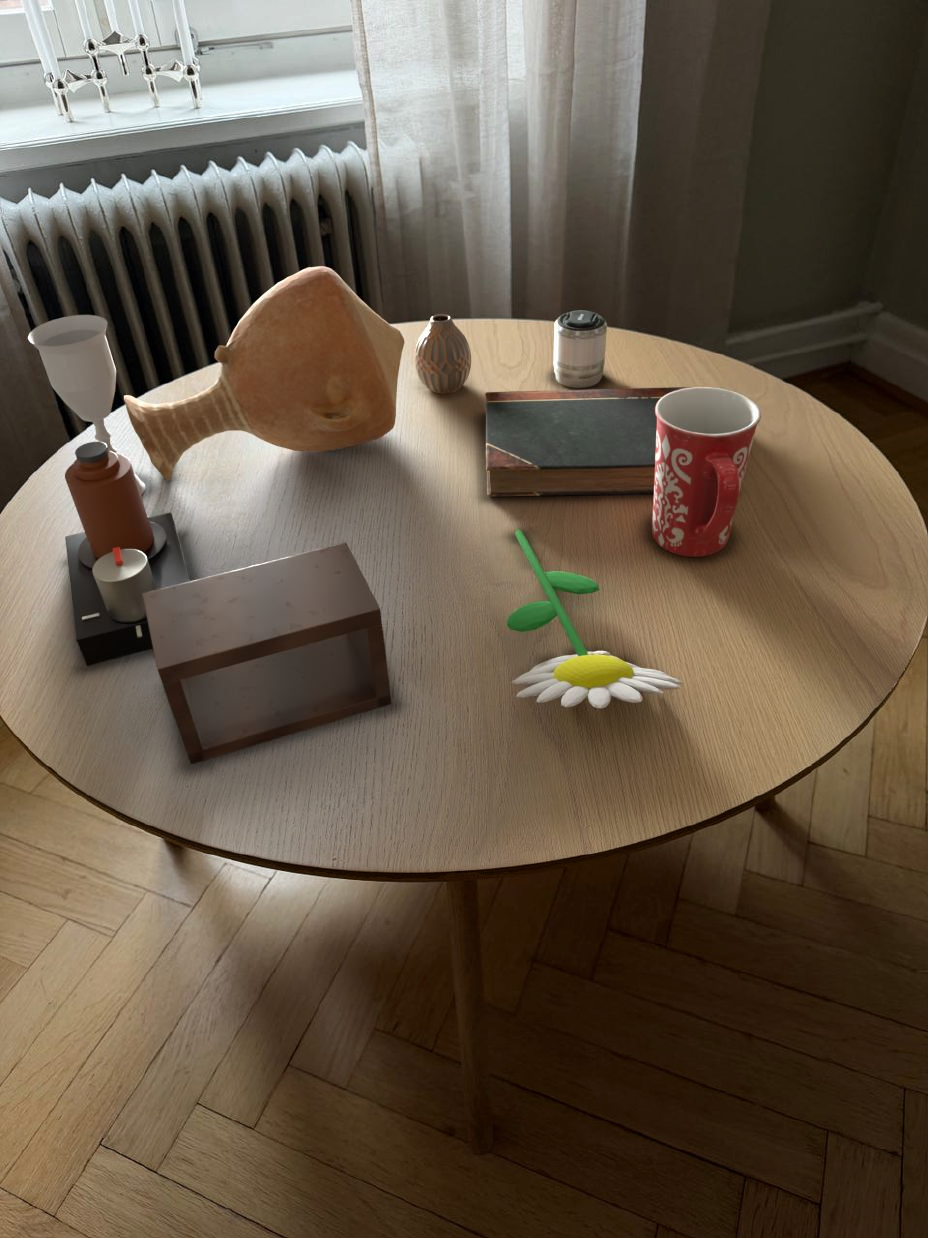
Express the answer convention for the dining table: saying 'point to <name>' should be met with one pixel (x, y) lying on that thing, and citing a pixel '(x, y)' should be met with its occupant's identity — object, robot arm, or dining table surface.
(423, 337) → the vase
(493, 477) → the book
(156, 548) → the burner
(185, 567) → the stove
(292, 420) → the jug
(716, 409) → the mug
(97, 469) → the bottle
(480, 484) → the dining table surface
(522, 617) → the decorative flower
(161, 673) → the shelf
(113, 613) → the stove knob
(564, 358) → the camera lens
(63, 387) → the chalice
